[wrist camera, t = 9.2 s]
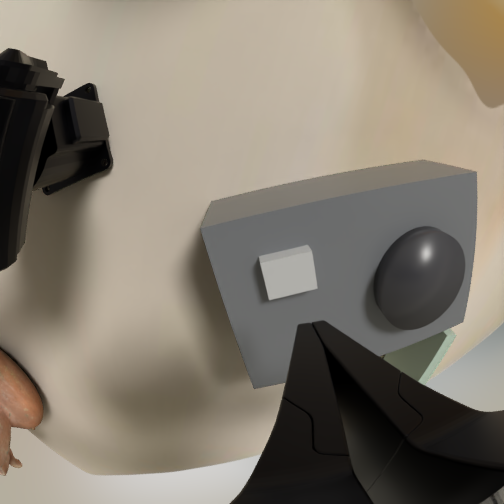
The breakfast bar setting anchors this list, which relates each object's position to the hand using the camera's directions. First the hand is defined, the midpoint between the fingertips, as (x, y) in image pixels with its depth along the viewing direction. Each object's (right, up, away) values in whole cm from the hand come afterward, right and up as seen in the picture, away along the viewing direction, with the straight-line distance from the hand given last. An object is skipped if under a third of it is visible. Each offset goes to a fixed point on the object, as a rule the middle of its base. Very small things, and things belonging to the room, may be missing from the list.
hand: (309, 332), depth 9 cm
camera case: (+5, +3, +12) cm, 13 cm away
